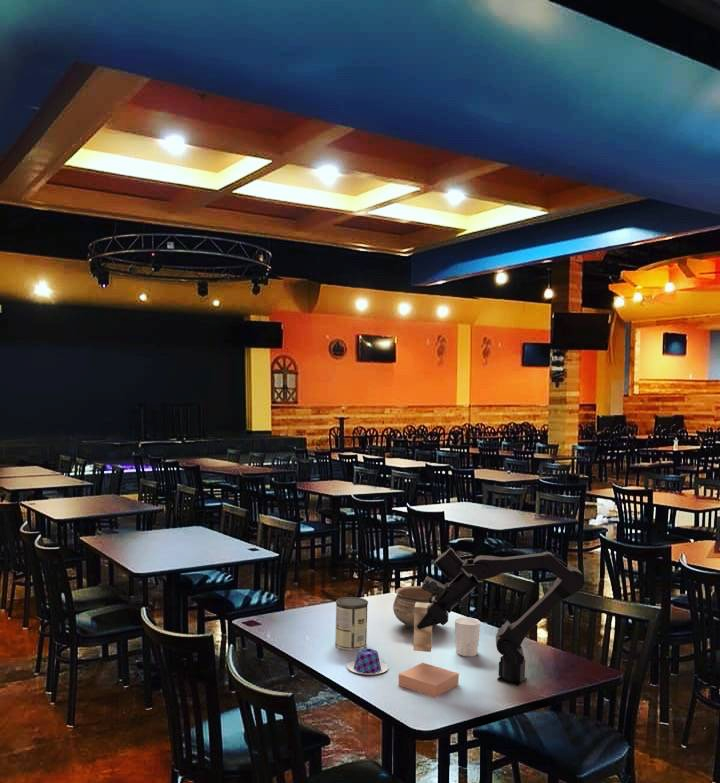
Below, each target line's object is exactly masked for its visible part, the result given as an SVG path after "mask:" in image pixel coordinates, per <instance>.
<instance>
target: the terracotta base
mask: <svg viewBox="0 0 720 783" xmlns="http://www.w3.org/2000/svg"><path fill="white" fill-rule="evenodd" d="M459 676H460V673H458V672H455V671H452V670H448V669H447V668H442V667H438V666H435V665H432V664H429V663H425V662H421V663H418V664H417V665H414V666H413V667H410V668H408V669H406V670H404V671H402V672H400V673H398V686H400V687H403V688H407V689H410V690H413V691H416V692H419V693H422V694H425V695H428V696H430V697H434V698H437V697H438V696H441V695H442V694H443V693H445V692H447V691H449V690H452V689H453V688H454V687H456V686H457V685H459V680H460V679H459Z"/></svg>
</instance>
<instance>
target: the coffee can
mask: <svg viewBox="0 0 720 783" xmlns="http://www.w3.org/2000/svg"><path fill="white" fill-rule="evenodd" d="M368 604H369V601H368V600H367V599H366V598H363V597H357V596H344V597H339V598H337V599H336V600H335V634H334V635H335V636H334V637H335V638H334V639H335V640H334V641H335V642H334V646H335V647H336V648H337V649H339V650H343V651H350V652H352V651H359V650H361V649H365V648H366V647H367V638H368V637H367V636H368V634H367V632H368V631H367V630H368Z"/></svg>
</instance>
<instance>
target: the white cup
mask: <svg viewBox="0 0 720 783" xmlns="http://www.w3.org/2000/svg"><path fill="white" fill-rule="evenodd" d="M480 628H481V621H480V620H479V619H477V618H473V617H467V616H466V617H465V616H463V617H457V618H455V620H454V636H455V637H454V638H455V640H454V641H455V653H456V654H458V655H460V656H463V657H475V656H477V655H478V652H479V651H478V650H479V649H478V647H479V641H480V631H481V630H480Z"/></svg>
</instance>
